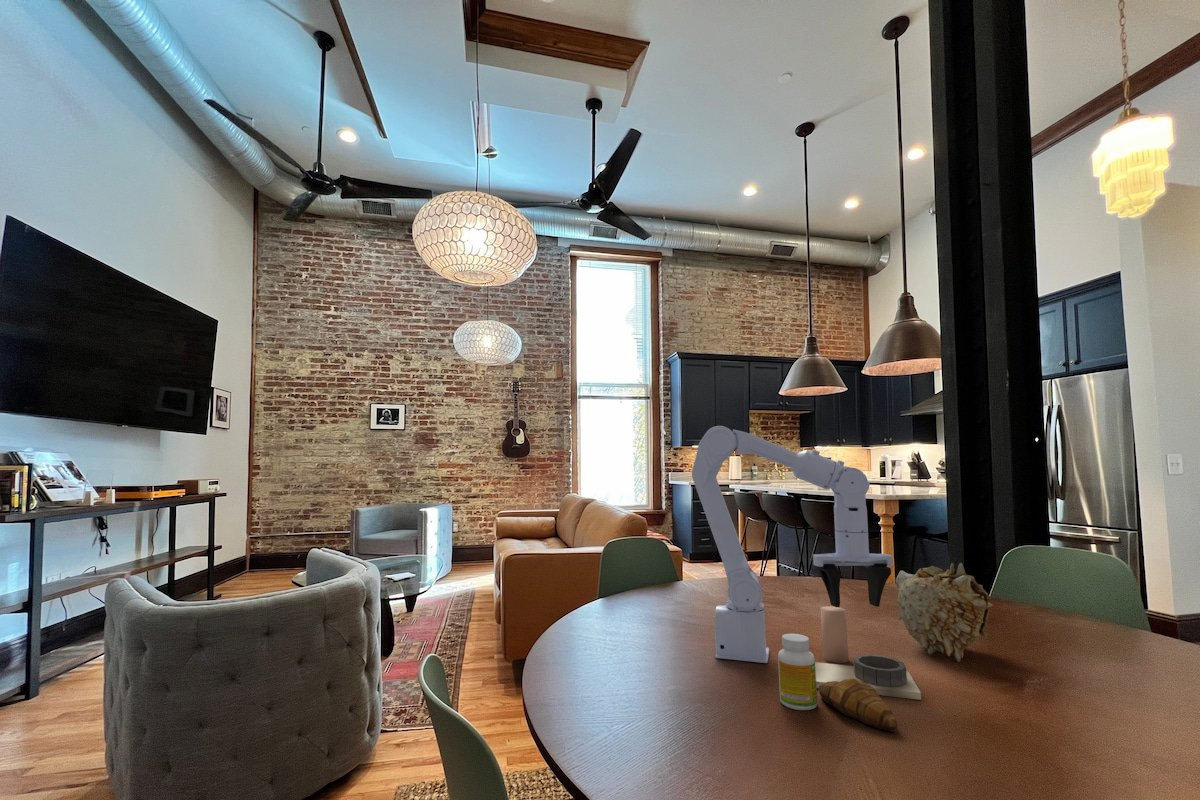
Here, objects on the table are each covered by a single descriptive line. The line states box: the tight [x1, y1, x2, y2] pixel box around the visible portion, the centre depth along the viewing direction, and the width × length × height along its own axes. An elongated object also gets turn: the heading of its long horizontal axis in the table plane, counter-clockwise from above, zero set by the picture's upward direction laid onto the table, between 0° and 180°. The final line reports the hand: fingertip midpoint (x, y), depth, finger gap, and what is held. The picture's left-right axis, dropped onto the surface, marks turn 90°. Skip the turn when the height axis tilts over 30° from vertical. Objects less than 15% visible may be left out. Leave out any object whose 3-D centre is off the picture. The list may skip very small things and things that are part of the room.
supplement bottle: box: [777, 633, 818, 711], centre depth 84 cm, size 5×5×10 cm
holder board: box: [815, 654, 922, 701], centre depth 93 cm, size 20×10×4 cm, turn 71°
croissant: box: [818, 679, 898, 732], centre depth 81 cm, size 14×7×5 cm, turn 21°
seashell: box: [895, 562, 994, 663], centre depth 108 cm, size 18×18×15 cm
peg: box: [820, 605, 850, 664], centre depth 104 cm, size 4×4×9 cm
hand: (854, 605), depth 102 cm, fingers open, 7 cm apart
